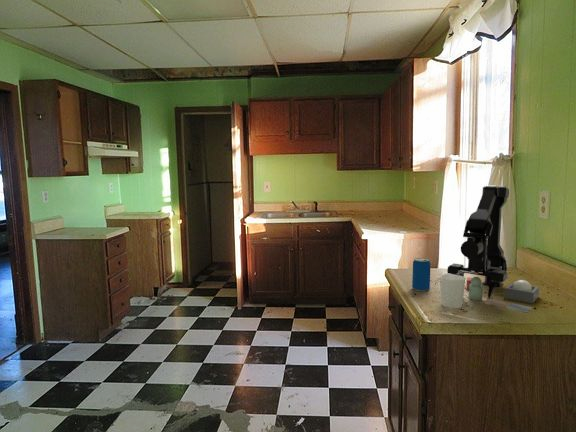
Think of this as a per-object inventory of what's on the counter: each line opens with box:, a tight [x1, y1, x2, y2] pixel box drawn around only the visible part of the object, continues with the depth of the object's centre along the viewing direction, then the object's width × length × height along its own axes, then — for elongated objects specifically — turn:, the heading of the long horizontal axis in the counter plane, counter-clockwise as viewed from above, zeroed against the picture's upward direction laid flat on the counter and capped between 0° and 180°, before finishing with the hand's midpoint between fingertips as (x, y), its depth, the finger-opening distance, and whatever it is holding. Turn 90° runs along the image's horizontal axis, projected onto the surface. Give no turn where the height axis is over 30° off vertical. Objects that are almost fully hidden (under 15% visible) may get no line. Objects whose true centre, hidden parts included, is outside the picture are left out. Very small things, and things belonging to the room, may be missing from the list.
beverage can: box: [411, 257, 432, 292], centre depth 160 cm, size 6×6×12 cm
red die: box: [466, 277, 473, 291], centre depth 160 cm, size 4×4×4 cm
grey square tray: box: [504, 282, 540, 304], centre depth 149 cm, size 9×9×4 cm
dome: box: [513, 279, 532, 292], centre depth 149 cm, size 6×6×6 cm
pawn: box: [468, 276, 484, 302], centre depth 147 cm, size 4×4×8 cm
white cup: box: [439, 273, 466, 309], centre depth 142 cm, size 8×8×10 cm
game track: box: [463, 295, 533, 313], centre depth 143 cm, size 6×20×1 cm, turn 49°
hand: (475, 295), depth 148 cm, fingers open, 9 cm apart
